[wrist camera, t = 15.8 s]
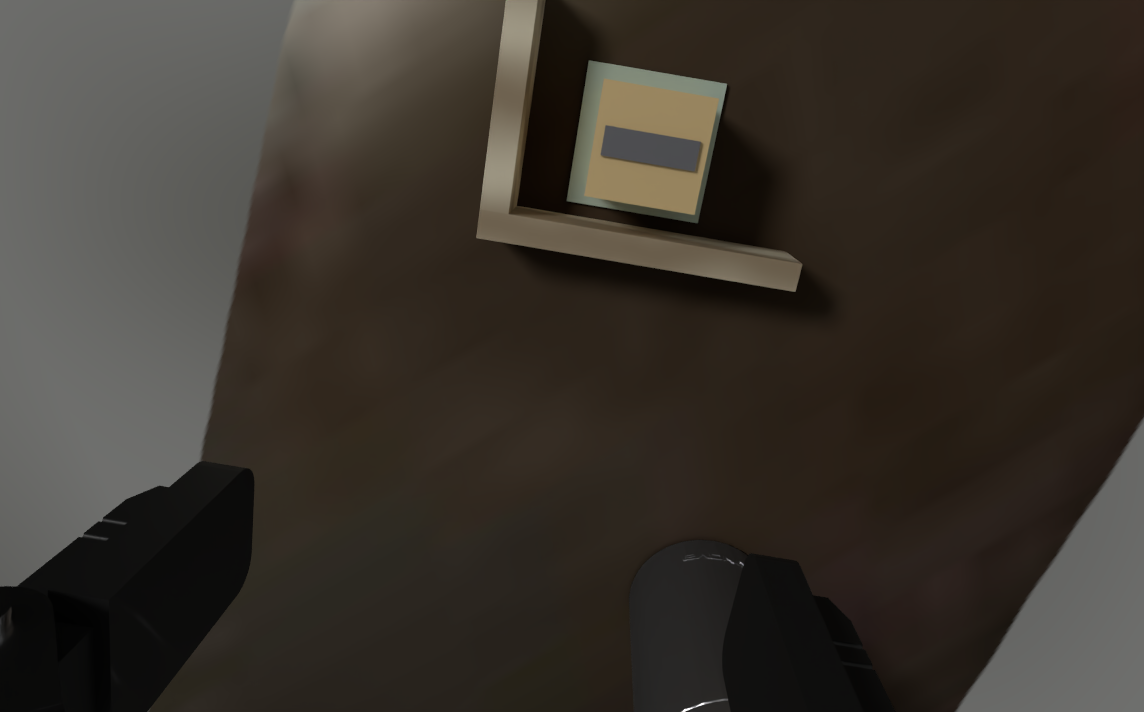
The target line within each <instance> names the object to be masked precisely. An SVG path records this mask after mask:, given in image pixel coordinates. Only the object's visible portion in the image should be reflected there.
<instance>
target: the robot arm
mask: <svg viewBox="0 0 1144 712" xmlns="http://www.w3.org/2000/svg"><path fill="white" fill-rule="evenodd" d="M253 506H254V476H253V473H252V471H251V470H250V469H248V468H242V467H236V466H230V465H224V464H218V463H212V462H206V461H201V462H199V463H197V464H196V465H195V466H194V467H192V468H191V469H190V470H189V471H188V472H186V473H185V474H184V475H183V476H182V477H181V478H179V479H178V480H177V481H176V482H175V483H174V484H172V485H171V486H170V487H164V486H157V487H155V488H153V489H150V490H148V491H145V492H143V493H141V494H138V495H136V496H133V497H131V498H128V499H126V500H125V501H124V502H122V503H121V504H120V505H119V506H117V507H116V508H115V509H113V510H112V511H111V512H110V513H108V514H107V515H106V516H105V517H103V521H102V522H97V523H96V524H95V525H94V526H92V527H91V528H90V529H89V530H87V531H86V532H85V533H84V535H83V537H78V538H77V539H76V540H75V541H73V542H72V543H71V544H70V545H68V546H67V547H66V548H65V549H63V550H62V551H61V552H59V553H58V554H57V555H56V556H54V557H53V558H52V559H51V560H49V561H48V562H47V563H46V564H44V565H43V566H42V567H41V568H39V569H38V570H37V571H36V572H34V573H33V574H32V575H31V576H29V577H28V578H27V579H26V580H24V581H23V582H22V583H20V584H19V585H18V586H1V587H0V712H147V711H148V710H149V709H150V707H151V706H152V705H153V704H154V702H155V701H156V700H157V698H158V697H159V696H160V694H161V693H162V692H163V691H164V689H165V688H166V687H167V685H168V684H169V683H170V682H171V680H172V679H173V678H174V676H175V675H176V674H177V672H178V671H179V670H180V669H181V667H182V666H183V665H184V663H185V662H186V661H187V659H188V658H189V657H190V656H191V654H192V653H193V652H194V650H195V649H196V648H197V647H198V645H199V644H200V643H201V641H202V640H203V639H204V637H205V636H206V635H207V634H208V632H209V631H210V630H211V628H212V627H213V626H214V625H215V623H216V622H217V621H218V619H219V618H220V617H221V615H222V614H223V613H224V612H225V610H226V609H227V608H228V606H229V605H230V604H231V602H232V601H233V600H234V599H235V597H236V596H237V595H238V593H239V592H240V590H241V588H242V586H243V584H244V582H245V579H246V576H247V573H248V570H249V566H250V561H251V553H252V530H253ZM629 608H630V633H631V659H632V679H633V700H634V712H895V710H894V708H893V706H892V704H891V702H890V700H889V698H888V696H887V694H886V692H885V690H884V688H883V686H882V684H881V681H880V679H879V677H878V675H877V673H876V671H875V670H872V663H871V661H870V659H869V657H868V655H867V653H866V651H865V650H864V649H862V643H861V641H860V639H859V637H858V634H857V632H856V630H855V628H854V626H853V624H852V622H851V620H850V619H849V618H847V617H846V616H845V615H844V614H843V613H842V612H841V611H840V610H839V609H838V608H837V607H836V606H835V605H834V604H833V603H832V602H831V601H830V600H829V599H828V598H826V597H820V596H814V595H812V592H811V590H810V588H809V585H808V583H807V581H806V578H805V576H804V574H803V572H802V569H801V567H800V565H799V563H798V562H797V561H794V560H788V559H782V558H776V557H770V556H764V555H758V554H752V553H751V554H749V555H748V556H747V555H746V554H744V553H743V552H742V551H740V550H738V549H736V548H734V547H732V546H730V545H727V544H724V543H720V542H716V541H708V540H693V541H684V542H681V543H677V544H674V545H671V546H668V547H667V548H665V549H663V550H661V551H659V552H657V553H656V554H655V555H653V556H652V557H651V558H650V559H649V560H647V561H646V562H645V563H644V565H643V566H642V567H641V568H640V570H639V571H638V572H637V574H636V576H635V578H634V580H633V583H632V585H631V590H630V595H629Z"/></svg>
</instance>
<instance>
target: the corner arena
mask: <svg viewBox="0 0 1144 712" xmlns="http://www.w3.org/2000/svg"><path fill="white" fill-rule="evenodd" d="M545 1H546V0H506V4H505V12H504V20H503V28H502V36H501V44H500V52H499V60H498V68H497V76H496V84H495V92H494V100H493V108H492V116H491V124H490V132H489V140H488V148H487V156H486V164H485V172H484V180H483V188H482V196H481V204H480V212H479V220H478V228H477V236H476V238H480V239H486V240H492V241H498V242H504V243H509V244H515V245H521V246H527V247H533V248H539V249H545V250H551V251H557V252H563V253H568V254H574V255H580V256H586V257H592V258H598V259H604V260H610V261H616V262H622V263H627V264H633V265H639V266H645V267H651V268H657V269H663V270H669V271H675V272H681V273H686V274H692V275H698V276H704V277H710V278H716V279H722V280H728V281H734V282H740V283H746V284H751V285H757V286H763V287H769V288H775V289H781V290H787V291H793V292H795V291H796V288H797V284H798V280H799V276H800V272H801V268H802V263H800V262H799V261H798V260H796V259H795V258H794V257H792V256H791V255H790V254H788V253H787V252H785V251H780V250H774V249H769V248H763V247H757V246H751V245H745V244H739V243H733V242H727V241H721V240H716V239H710V238H704V237H698V236H692V235H686V234H680V233H674V232H668V231H663V230H657V229H651V228H645V227H639V226H633V225H627V224H621V223H616V222H610V221H604V220H598V219H592V218H586V217H580V216H574V215H568V214H563V213H557V212H551V211H545V210H539V209H533V208H527V207H521V206H517V202H518V195H519V187H520V180H521V173H522V166H523V159H524V152H525V144H526V137H527V130H528V123H529V116H530V108H531V101H532V94H533V87H534V80H535V73H536V65H537V58H538V51H539V44H540V37H541V30H542V22H543V15H544V8H545Z"/></svg>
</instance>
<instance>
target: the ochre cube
mask: <svg viewBox="0 0 1144 712" xmlns="http://www.w3.org/2000/svg"><path fill="white" fill-rule="evenodd" d="M718 102H719V98H713V97H708V96H702V95H696V94H690V93H685V92H679V91H673V90H667V89H662V88H656V87H650V86H644V85H639V84H633V83H627V82H621V81H616V80H610V79H604V81H603V87H602V93H601V98H600V104H599V110H598V116H597V122H596V128H595V134H594V140H593V146H592V152H591V158H590V164H589V170H588V176H587V182H586V188H585V194H584V196H587V197H593V198H599V199H604V200H610V201H616V202H622V203H628V204H633V205H639V206H645V207H651V208H657V209H662V210H668V211H674V212H680V213H686V214H691V215H695V210H696V205H697V201H698V196H699V191H700V187H701V182H702V177H703V172H704V168H705V163H706V158H707V154H708V149H709V144H710V140H711V135H712V130H713V125H714V121H715V116H716V111H717V107H718Z"/></svg>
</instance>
